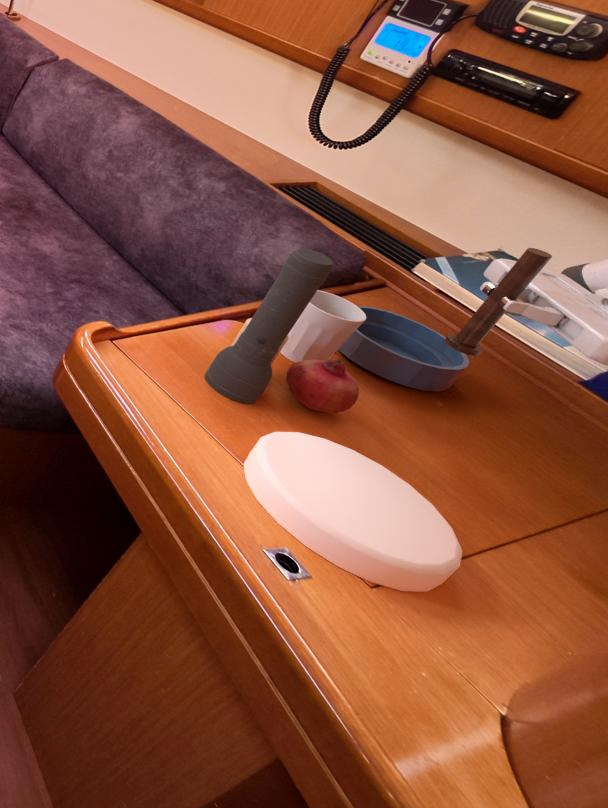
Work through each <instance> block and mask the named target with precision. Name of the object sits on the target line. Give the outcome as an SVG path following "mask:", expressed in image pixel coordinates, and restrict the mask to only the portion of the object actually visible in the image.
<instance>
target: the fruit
mask: <svg viewBox="0 0 608 808" xmlns="http://www.w3.org/2000/svg"><path fill="white" fill-rule="evenodd" d="M346 369H347V367H346V365H345V363H344V362H343V360H342V359H338V358H332V359H329V360H328V361H322V360H305V361H300V362H296V363H294V362H293V363H291V365H290V366H289V367H288V369H287V372H286V375H285V381H286V385H287V387H288V390H289V391H290V393H291V394H292V395H293V397H294V398H295V399H296V401H298V402H299V403H300V404H301V405H302V406H303V407H306V408H307V409H308V408H309V409H310V410H312V411H318V412H323V413H332V414H337V413H341V412H344V411H347V410H349V409H351V408H352V407H353V406H354V405H355V404H356V402H357V401H358V398H359V394H360V388H359V385H358V383H357V382H356V380H355V378H354V377H353V376H352V375H351V374H350V373H349V372H348V371H346Z"/></svg>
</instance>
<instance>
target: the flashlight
mask: <svg viewBox="0 0 608 808" xmlns="http://www.w3.org/2000/svg"><path fill="white" fill-rule="evenodd" d="M333 269H334V263H333V260H332V259H331V258H330V257H328V256H327V255H325V254H324V253H321V252H319V251H316V250H313V249H308V248H304V247H303V248H301V247H300V248H297V249H295V250H292V251H291V252H290V254H289V256H288V258H287V259H286V261H285V263H284V264H283V266H282V268H281V270H280V272H279V274H278V275H277V277H276V278H275V280H274V282H273V283H272V285H271V286H270V288H269V290H268V292H267V293H266V295H265V297H264V298H263V300H262V301H261V303H260V305H259V306H258V308H257V309H256V311H255V312H254V314H253V316H252V317H251V318H252V319H251V321H250V322H249V324H248V326H247V327H246V329H245V330H244V332H243V333H242V334H241V335H240V337H239V338H238V340H237V342H236V343H235V345H234V346H231V345H230V346H227V347H225V348H223V349H222V350H220V351H219V352H218V354H216V356H215V357H214V359H213V361H212V362H211V363H210V365H209V367H208V369H207V370H206V372H205V374H204V378H205V381H206V382H207V384H208V385H209V386H210V387H211V388H212V389H213V390H215V392H217V393H219V394H220V395H221V396H223V397H225V398H227V399H229V400H231V401H234V402H236V403H240V404H245V405H252V404H256V403H257V402H258V401H259V399H260V398H261V397H262V395H263V394H264V392H265V391H266V389H267V387H268V386H269V385H270V382H271V380H272V378H273V367H272V365H271V364H270V363H271V361H272V360H273V358H274V357H275V355H276V354H277V352H278V350H279V347H280V346H281V344H282V343H283V341H284V340H285V338H286V337H287V335H288V334H289V332H290V331H291V329H292V328H293V326H294V325H295V323H296V322H297V320H298V319H299V317H300V316H301V314H302V313H303V311H304V310H305V308H306V307H307V305H308V304H309V302H310V301H311V299H312V298H313V296H314V295H315V293H316V291H317V290H319V288H320V287H321V286H323V284H324V283H325V281H326V280H327V278H328V277H329V276H330V274H331V272H332V271H333Z"/></svg>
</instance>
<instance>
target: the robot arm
mask: <svg viewBox="0 0 608 808" xmlns="http://www.w3.org/2000/svg"><path fill="white" fill-rule="evenodd" d="M517 261H518V260H512V259H509V258H497V259H494V260H492V262H490V264H489V265H487V267H486V268H485V270H484V272H483V277H485V278H486V279H487V280H488V281H485V282H483V283H482V284H481V286H480V287H479V290H480V291H481V292H482V293H483V294H485V295H486V296H487V297H488V296H489V295H490V294H491V293H492V291H493V290H494V289H495V288H496V286H497V285H498V284H499V283H500V282H501V280H502V279H503V278H504V277H505V275H506V274H507V273H508V272H509V271H510V269H511V268H512V267H513V266H514V264H515V263H516V262H517ZM498 305H500V306H501V307H502V308H503V309H504V310H505V311H506V312H507V313H511V314H516V315H519V316H523V317H524V318H527V319H530V320H532V321H535V322H537V323H540V324H542V325H546V326H547V327H548V328H550V329H551V330H552V331H553V332H555V333H556V334H557V335H559V337H561V338H562V339H564V341H566V342H567V343H569V344H570V345H571V346H572V347H574V348H575V349H577V351H578V352H580V353H582V354H583V355H584V356H585V357H586V358H589V359H591V360H592V361H595V362H596V363H597V362H598V363H599V364H602V365H604V366H608V258H605V259H601V260H598V261H593V262H586V263H583V264H576V265H572V266H569V267H566V268H564V269H563V270H562V271H561V272H559V271H557V270H553V269H550V268H547V267H545V266H544V267H543V268H542V270H541V271H540V272H539V273H538V274H537V276H536V277H535V278H534V279H533V280H532V281H531V283H530V284H529V285H528V286H527V287H526V289H525V290H524V291H523V292H522V293H521V295H520V296H519V297H518V298H511V297H503V298H502V299H501V301H500V302H499V303H498Z"/></svg>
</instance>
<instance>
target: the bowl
mask: <svg viewBox="0 0 608 808" xmlns="http://www.w3.org/2000/svg"><path fill="white" fill-rule="evenodd" d="M356 306H357V307H359V308H360V309H361V310H362V311H363V312H364V313H365V315H366V320H365V321H364V322H363V323H362V324H361V325H360V326H359V327H358V328H357V329H356V330H355V331H354V332H353V334H352V335H351V336H350V337H349V338H348V339H347V340H346V341H345V342H344V343H343V344H342V346H341V347H340V348H339V349H338V350H337V351H339V352H340V353H341V354H342V355H344V357H346V358H347V359H349V360H350V361H351V362H354V363H355V364H356V365H357V366H358V365H359V366H360V367H361V368H362V369H365V370H367V371H368V372H370V373H372V374H374V375H377V376H378V377H380V378H383V379H385V380H388V381H390V382H394V383H396V384H398V385H400V386H401V385H402V386H404V387H407V388H411V389H416V390H420V391H425V392H442V391H446V390H449V389H450V388H451V387H452V386H453V385H454V383H455V382H456V381H457V380H458V379H459V378H460V376H461V375H462V374H463V373H464V372H465V371H466V370H467V368H468V366H469V365H470V364H469V363H470V360H469V358H468V356H467V354H464V353H462V352H459V351H457V350H455V349H453V348H451V347H450V346H448V345H447V344H446V343H445V341H444V339H445V338H446V337H447V336H445V335H443V334H442V333H440V332H438V331H437V330H435V329H433V328H431V327H429V326H427V325H425V324H423V323H421V322H418V321H417V320H414V319H412V318H409V317H407V316H405V315H401V314H400V313H396V312H393V311H389V310H387V309H382V308H378V307H373V306H370V305H369V306H368V305H356Z"/></svg>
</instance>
